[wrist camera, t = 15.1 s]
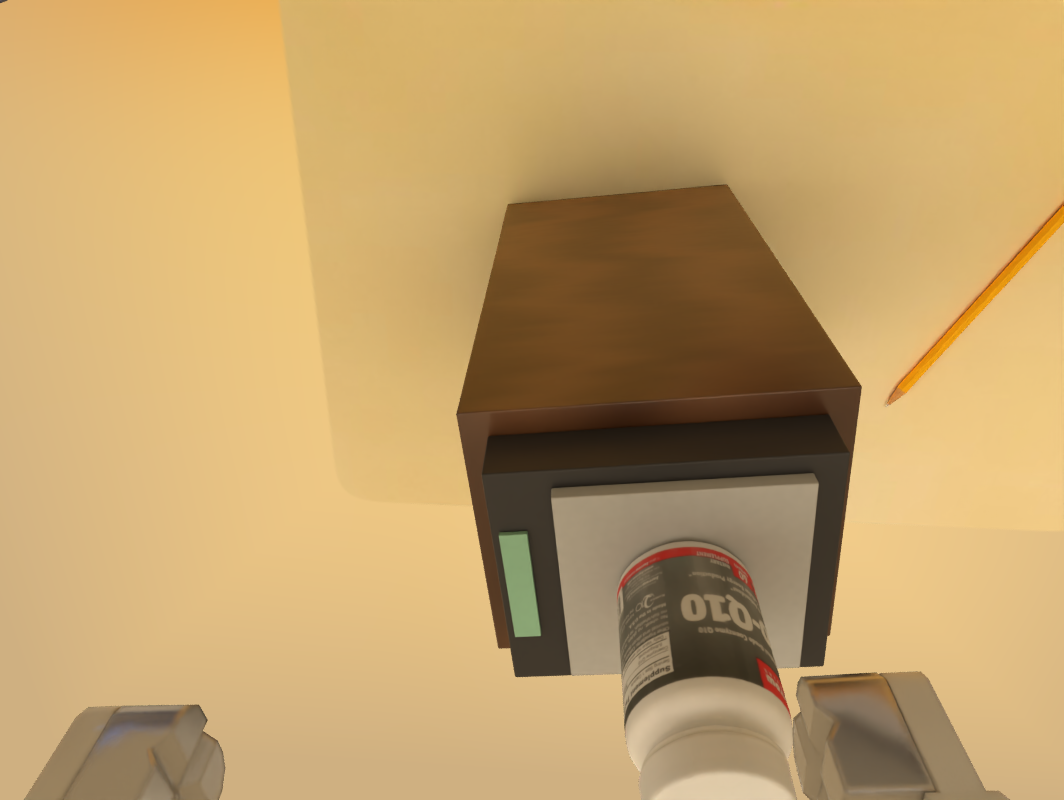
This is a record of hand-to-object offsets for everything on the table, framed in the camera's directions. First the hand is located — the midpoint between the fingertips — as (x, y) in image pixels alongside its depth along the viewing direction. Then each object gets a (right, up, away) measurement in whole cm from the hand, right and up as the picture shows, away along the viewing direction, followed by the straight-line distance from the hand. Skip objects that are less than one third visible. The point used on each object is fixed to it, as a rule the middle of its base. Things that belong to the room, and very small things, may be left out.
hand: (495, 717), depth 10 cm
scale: (+5, -1, +19) cm, 20 cm away
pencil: (+31, +11, +41) cm, 53 cm away
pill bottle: (+6, -2, +17) cm, 18 cm away
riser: (+6, +12, +42) cm, 44 cm away
